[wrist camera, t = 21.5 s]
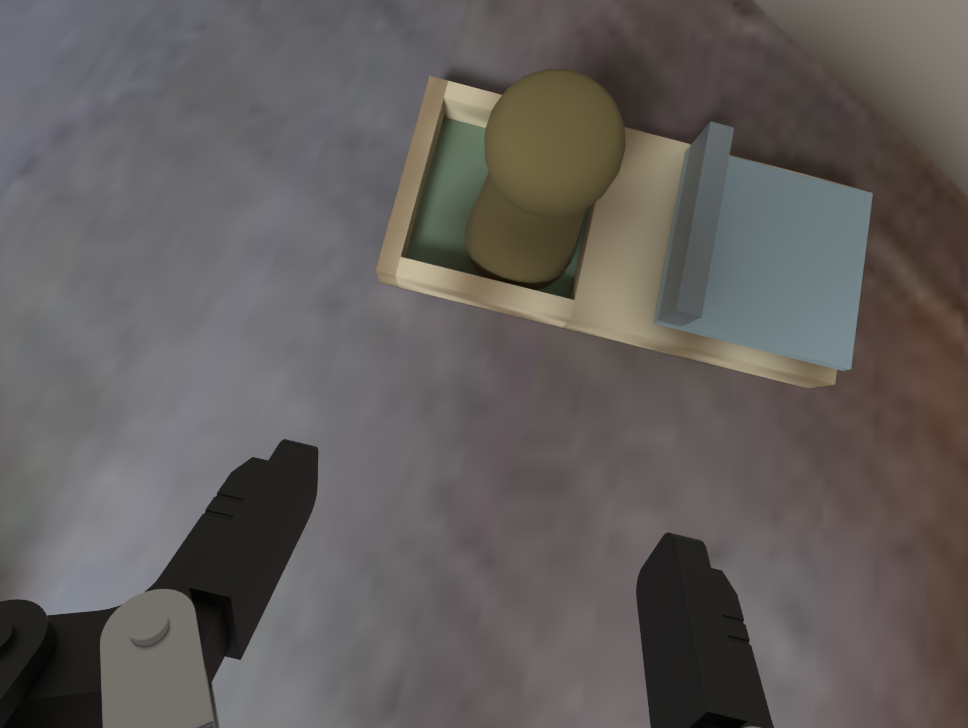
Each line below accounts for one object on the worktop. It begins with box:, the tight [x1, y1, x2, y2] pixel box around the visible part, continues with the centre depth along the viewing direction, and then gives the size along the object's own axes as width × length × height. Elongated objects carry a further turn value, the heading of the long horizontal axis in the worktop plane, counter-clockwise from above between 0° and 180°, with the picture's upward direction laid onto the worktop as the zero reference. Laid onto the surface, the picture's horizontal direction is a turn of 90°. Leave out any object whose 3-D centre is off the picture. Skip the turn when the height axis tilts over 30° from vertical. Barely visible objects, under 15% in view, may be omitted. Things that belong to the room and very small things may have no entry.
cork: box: [465, 69, 626, 290], centre depth 24 cm, size 6×6×11 cm
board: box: [376, 76, 860, 388], centre depth 29 cm, size 24×11×2 cm, turn 77°
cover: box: [653, 121, 873, 371], centre depth 26 cm, size 10×10×3 cm
